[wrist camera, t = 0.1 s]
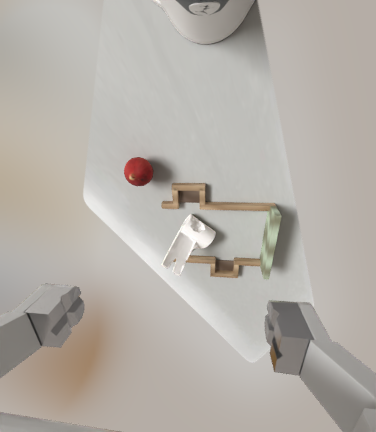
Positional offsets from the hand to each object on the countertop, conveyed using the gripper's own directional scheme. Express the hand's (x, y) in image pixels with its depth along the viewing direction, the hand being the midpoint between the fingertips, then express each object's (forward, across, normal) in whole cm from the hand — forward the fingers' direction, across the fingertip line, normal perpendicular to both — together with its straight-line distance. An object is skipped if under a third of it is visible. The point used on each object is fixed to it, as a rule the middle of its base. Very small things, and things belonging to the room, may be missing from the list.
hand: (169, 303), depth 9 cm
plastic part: (+41, +4, +18) cm, 45 cm away
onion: (+39, +14, +1) cm, 42 cm away
